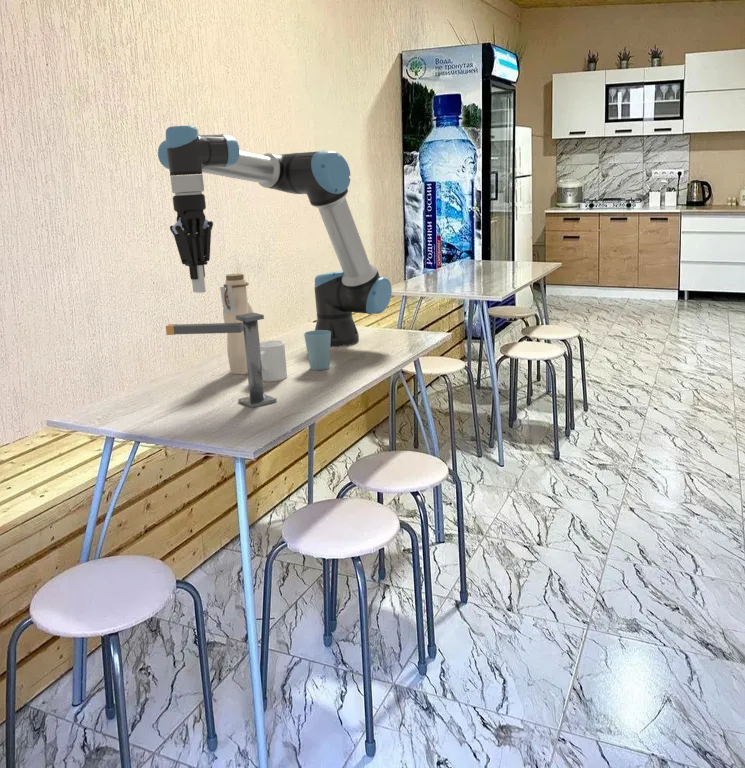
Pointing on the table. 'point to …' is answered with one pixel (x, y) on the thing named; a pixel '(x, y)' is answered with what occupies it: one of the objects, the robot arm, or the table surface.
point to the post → (253, 361)
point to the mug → (273, 360)
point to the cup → (318, 348)
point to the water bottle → (232, 306)
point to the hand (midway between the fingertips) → (199, 291)
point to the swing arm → (204, 328)
